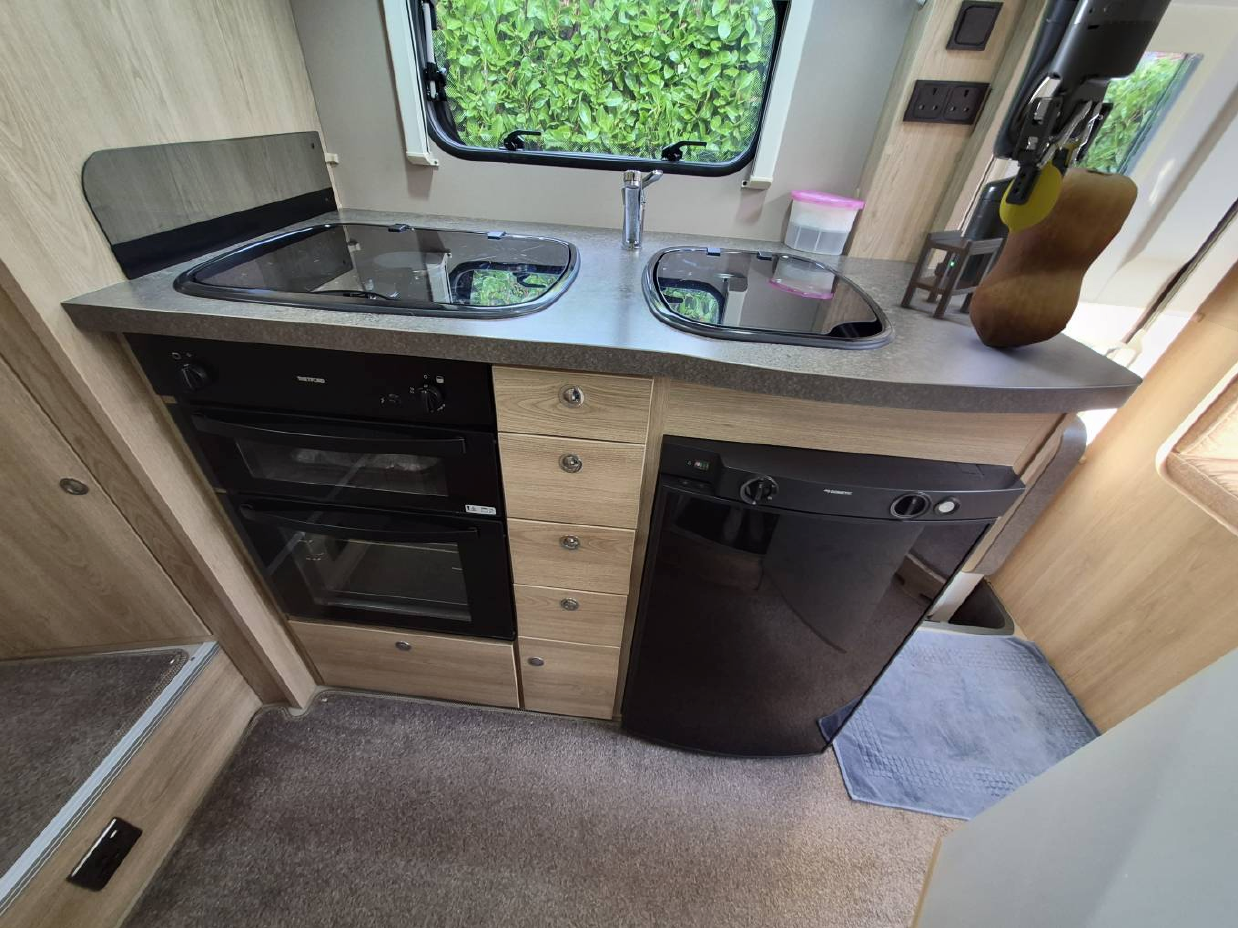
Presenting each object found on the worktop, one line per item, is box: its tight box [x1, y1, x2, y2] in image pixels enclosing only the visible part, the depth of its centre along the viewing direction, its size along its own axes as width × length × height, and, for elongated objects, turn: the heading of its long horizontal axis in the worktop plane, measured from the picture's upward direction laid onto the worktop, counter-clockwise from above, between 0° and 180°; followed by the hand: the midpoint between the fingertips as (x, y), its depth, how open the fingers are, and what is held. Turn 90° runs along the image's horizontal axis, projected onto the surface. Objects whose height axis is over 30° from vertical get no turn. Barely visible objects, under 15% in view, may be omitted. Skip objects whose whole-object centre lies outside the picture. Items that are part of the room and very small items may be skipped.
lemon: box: [1000, 161, 1062, 233], centre depth 61 cm, size 6×6×8 cm
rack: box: [899, 229, 1003, 320], centre depth 91 cm, size 8×10×13 cm
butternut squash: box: [968, 166, 1139, 349], centre depth 73 cm, size 14×13×25 cm
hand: (1027, 202), depth 61 cm, fingers closed on lemon, 5 cm apart
